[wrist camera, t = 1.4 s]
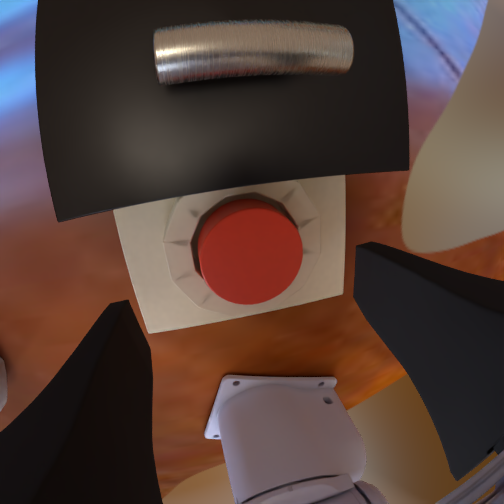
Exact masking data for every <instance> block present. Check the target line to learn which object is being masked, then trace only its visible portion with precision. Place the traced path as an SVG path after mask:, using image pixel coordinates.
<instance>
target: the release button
mask: <svg viewBox="0 0 504 504" xmlns="http://www.w3.org/2000/svg"><path fill="white" fill-rule="evenodd" d="M198 256H199V263H200V269H201V273H202V276H203V278H204V281H205V282H206V284H207V285H208V287H209V288H210V289H211V290H212V291H213V292H214V293H215V294H216V295H218V296H219V297H221V298H222V299H224V300H226V301H229V302H232V303H235V304H241V305H253V304H259V303H263V302H266V301H268V300H271V299H273V298H275V297H276V296H278V295H279V294H281V293H282V292H283V291H284V290H286V289H287V288H288V287H289V286H290V285H291V283H292V282H293V281H294V279H295V277H296V276H297V274H298V272H299V270H300V267H301V263H302V258H303V245H302V240H301V237H300V234H299V232H298V230H297V229H296V227H295V226H294V224H293V223H292V222H291V221H290V220H289V219H288V218H287V217H286V216H285V215H283V214H282V213H281V212H280V211H279V210H278V209H276V208H275V207H274V206H272V205H271V204H269V203H267V202H264V201H261V200H257V199H239V200H234V201H231V202H228V203H226V204H224V205H222V206H221V207H219V208H218V209H216V210H215V211H214V212H213V213H212V214H211V215H210V216H209V217H208V218H207V220H206V221H205V223H204V224H203V226H202V228H201V231H200V234H199V238H198Z"/></svg>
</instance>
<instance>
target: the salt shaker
mask: <svg viewBox="0 0 504 504" xmlns="http://www.w3.org/2000/svg"><path fill="white" fill-rule="evenodd" d="M6 400H7V374H6V369H5V364H4V360H3V359H2V358H1V357H0V411H1V409H2V408H3V406H4V405H5V404H6Z"/></svg>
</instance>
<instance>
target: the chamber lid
mask: <svg viewBox="0 0 504 504" xmlns="http://www.w3.org/2000/svg"><path fill="white" fill-rule="evenodd" d="M35 77H36V96H37V108H38V119H39V127H40V135H41V143H42V149H43V156H44V161H45V167H46V172H47V178H48V183H49V187H50V192H51V196H52V201H53V205H54V209H55V213H56V217H57V221H58V222H63V221H67V220H71V219H75V218H79V217H83V216H88V215H92V214H97V213H101V212H105V211H110V210H115V209H119V208H124V207H129V206H134V205H139V204H144V203H149V202H154V201H159V200H165V199H170V198H176V197H181V196H187V195H193V194H199V193H205V192H211V191H217V190H224V189H230V188H237V187H244V186H251V185H259V184H266V183H274V182H282V181H291V180H299V179H308V178H318V177H328V176H338V175H350V174H362V173H376V172H391V171H408V170H409V120H408V103H407V90H406V79H405V70H404V62H403V54H402V47H401V40H400V34H399V28H398V23H397V18H396V13H395V8H394V3H393V0H38V5H37V17H36V35H35Z"/></svg>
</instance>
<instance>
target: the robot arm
mask: <svg viewBox="0 0 504 504" xmlns="http://www.w3.org/2000/svg"><path fill="white" fill-rule="evenodd" d="M353 297H354V299H355V301H356V303H357V304H358V306H359V308H360V310H361V311H362V313H363V315H364V316H365V318H366V320H367V321H368V322H369V324H370V325H371V326H372V328H373V329H374V330H375V331H376V333H377V334H378V335H379V337H380V338H381V339H382V340H383V342H384V343H385V344H386V345H387V347H388V348H389V349H390V351H391V352H392V353H393V354H394V356H395V357H396V358H397V360H398V361H399V362H400V363H401V365H402V366H403V368H404V369H405V371H406V372H407V373H408V375H409V377H410V378H411V380H412V382H413V383H414V385H415V387H416V389H417V391H418V392H419V394H420V396H421V398H422V400H423V402H424V404H425V406H426V408H427V410H428V412H429V414H430V416H431V418H432V420H433V423H434V425H435V427H436V430H437V432H438V435H439V437H440V440H441V442H442V445H443V448H444V451H445V454H446V457H447V460H448V464H449V467H450V471H451V473H452V475H453V476H454V478H455V480H457V481H458V480H459V479H461V478H462V477H464V476H465V475H466V474H467V473H469V472H470V471H471V470H473V469H474V468H475V467H476V466H478V465H479V464H480V463H481V462H483V461H484V460H485V459H486V458H487V457H488V456H490V455H491V454H492V453H493V452H494V451H496V453H497V454H498V456H497V457H495V458H494V459H493V460H492V461H491V462H490V463H489V464H487V465H486V466H485V467H484V468H483V469H481V470H480V471H479V472H478V473H477V474H475V475H474V476H473V477H471V478H470V479H469V480H468V481H466V482H465V483H464V484H462V485H461V486H460V487H458V488H457V489H455V490H454V491H453V492H451V493H450V494H448V495H447V496H445V497H444V498H443V499H441V500H440V501H438V502H436V503H435V504H472V503H473V502H474V501H476V500H477V499H478V498H479V497H480V496H482V495H483V494H484V493H485V492H487V491H488V490H489V489H490V488H491V487H492V486H493V485H495V484H496V488H495V490H494V491H493V492H492V493H490V494H489V495H487V496H486V497H485V498H483V499H482V500H480V501H479V502H477V503H476V504H504V281H500V280H495V279H491V278H486V277H482V276H478V275H474V274H470V273H467V272H463V271H460V270H457V269H454V268H450V267H447V266H444V265H441V264H438V263H435V262H432V261H430V260H427V259H424V258H421V257H418V256H416V255H413V254H410V253H407V252H404V251H402V250H399V249H396V248H393V247H390V246H387V245H383V244H380V243H376V242H368V243H364V244H360V245H357V246H356V257H355V277H354V293H353ZM235 381H237V382H235ZM336 383H337V380H336V378H335V377H262V376H241V375H226V376H224V377H223V378H222V381H221V384H220V387H219V390H218V393H217V396H216V399H215V402H214V405H213V408H212V411H211V414H210V417H209V420H208V423H207V426H206V429H205V432H204V434H205V437H206V438H208V439H221V442H222V447H223V452H224V456H225V461H226V466H227V470H228V475H229V479H230V484H231V488H232V492H233V496H234V500H235V504H389V503H388V501H387V500H386V498H385V497H384V495H383V494H382V493H381V492H380V491H379V490H378V489H377V488H376V487H375V486H373V485H371V484H368V483H366V482H364V481H359V480H360V478H361V477H362V475H363V473H364V470H365V467H366V449H365V445H364V442H363V439H362V437H361V435H360V434H359V432H358V430H357V428H356V427H355V425H354V423H353V422H352V420H351V418H350V416H349V415H348V413H347V411H346V409H345V408H344V406H343V404H342V403H341V401H340V399H339V397H338V396H337V394H336V392H335V391H334V389H333V388H334V386H335V385H336ZM152 395H153V372H152V360H151V350H150V347H149V344H148V342H147V340H146V338H145V336H144V334H143V332H142V330H141V327H140V325H139V323H138V321H137V319H136V316H135V314H134V312H133V309H132V307H131V305H130V303H129V300H124V301H119V302H115V303H110V304H109V305H108V307H107V308H106V309H105V310H104V311H103V313H102V314H101V315H100V317H99V318H98V319H97V321H96V322H95V323H94V325H93V326H92V327H91V329H90V330H89V332H88V333H87V334H86V336H85V337H84V338H83V340H82V341H81V343H80V344H79V345H78V347H77V348H76V349H75V351H74V352H73V353H72V355H71V356H70V357H69V358H68V360H67V361H66V362H65V364H64V365H63V366H62V368H61V369H60V370H59V372H58V373H57V374H56V375H55V377H54V378H53V379H52V380H51V381H50V383H49V384H48V385H47V386H46V387H45V388H44V390H43V391H42V392H41V393H40V394H39V395H38V396H37V397H36V399H35V400H34V401H33V402H32V403H31V404H30V405H29V406H28V407H27V408H26V409H25V410H24V411H23V412H22V413H21V414H20V415H19V416H18V417H17V418H15V419H14V420H13V421H12V422H11V423H10V424H9V425H8V426H7V427H6V428H5V429H4V430H3V431H1V432H0V504H163V503H162V498H161V493H160V489H159V484H158V479H157V473H156V467H155V461H154V454H153V443H152Z"/></svg>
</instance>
